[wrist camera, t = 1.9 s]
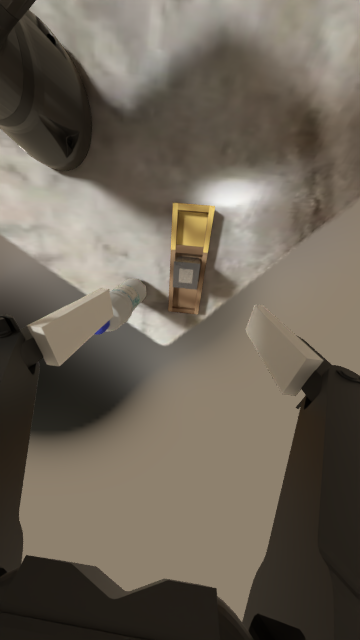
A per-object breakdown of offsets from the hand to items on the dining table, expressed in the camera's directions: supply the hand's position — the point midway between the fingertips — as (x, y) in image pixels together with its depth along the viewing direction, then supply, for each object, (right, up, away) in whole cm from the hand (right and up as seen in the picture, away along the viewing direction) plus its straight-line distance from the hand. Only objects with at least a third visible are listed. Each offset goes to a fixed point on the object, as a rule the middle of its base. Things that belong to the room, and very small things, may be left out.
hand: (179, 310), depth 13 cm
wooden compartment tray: (+2, +12, +22) cm, 25 cm away
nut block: (+2, +12, +21) cm, 24 cm away
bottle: (-12, +8, +26) cm, 29 cm away
